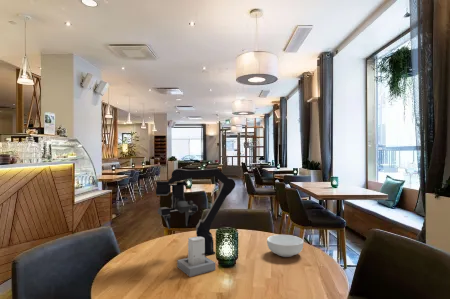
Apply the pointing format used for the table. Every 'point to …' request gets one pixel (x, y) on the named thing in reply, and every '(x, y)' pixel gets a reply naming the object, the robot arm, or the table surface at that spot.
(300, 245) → the cereal bowl
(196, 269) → the ceramic holder
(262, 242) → the table surface
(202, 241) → the skincare box
